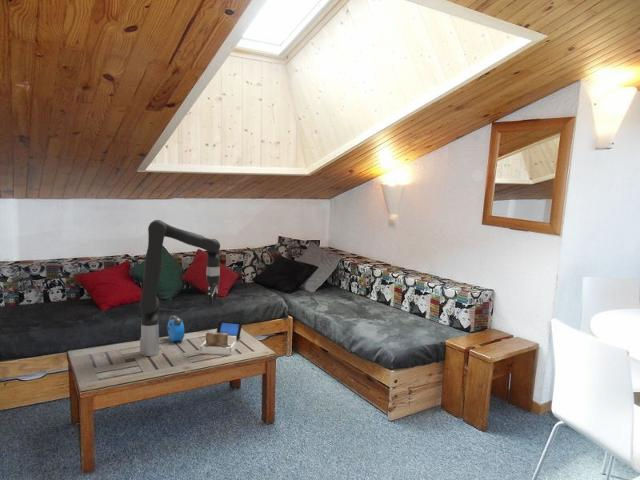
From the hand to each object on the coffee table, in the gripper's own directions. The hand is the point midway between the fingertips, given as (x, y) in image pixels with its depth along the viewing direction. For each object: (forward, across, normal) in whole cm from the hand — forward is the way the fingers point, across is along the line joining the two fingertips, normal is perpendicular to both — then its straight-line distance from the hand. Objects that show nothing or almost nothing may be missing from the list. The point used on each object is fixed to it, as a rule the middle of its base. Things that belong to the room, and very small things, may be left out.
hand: (212, 301), depth 274 cm
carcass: (+28, +1, +4) cm, 28 cm away
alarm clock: (+29, -12, -26) cm, 40 cm away
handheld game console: (+28, -19, +3) cm, 35 cm away
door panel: (+27, +4, +4) cm, 28 cm away
